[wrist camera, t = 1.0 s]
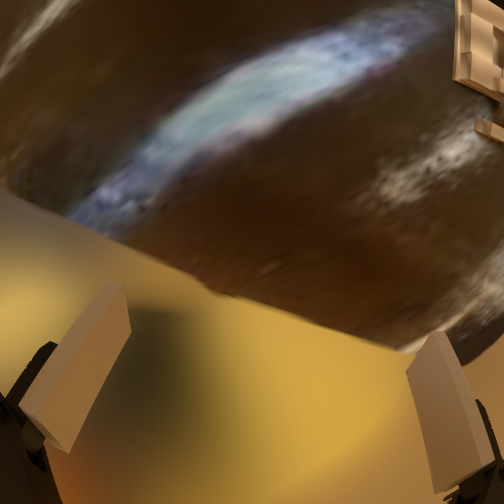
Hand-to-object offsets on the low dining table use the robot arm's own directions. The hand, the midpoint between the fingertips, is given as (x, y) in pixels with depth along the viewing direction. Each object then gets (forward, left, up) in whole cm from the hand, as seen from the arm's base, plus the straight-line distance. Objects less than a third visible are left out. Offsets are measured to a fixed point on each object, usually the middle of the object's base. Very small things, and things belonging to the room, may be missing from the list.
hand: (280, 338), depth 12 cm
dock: (-20, +25, -25) cm, 41 cm away
